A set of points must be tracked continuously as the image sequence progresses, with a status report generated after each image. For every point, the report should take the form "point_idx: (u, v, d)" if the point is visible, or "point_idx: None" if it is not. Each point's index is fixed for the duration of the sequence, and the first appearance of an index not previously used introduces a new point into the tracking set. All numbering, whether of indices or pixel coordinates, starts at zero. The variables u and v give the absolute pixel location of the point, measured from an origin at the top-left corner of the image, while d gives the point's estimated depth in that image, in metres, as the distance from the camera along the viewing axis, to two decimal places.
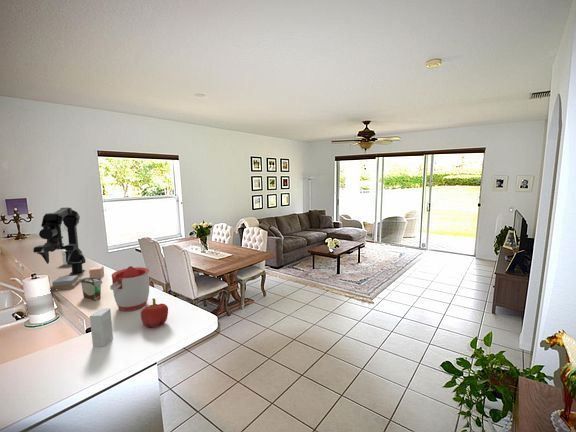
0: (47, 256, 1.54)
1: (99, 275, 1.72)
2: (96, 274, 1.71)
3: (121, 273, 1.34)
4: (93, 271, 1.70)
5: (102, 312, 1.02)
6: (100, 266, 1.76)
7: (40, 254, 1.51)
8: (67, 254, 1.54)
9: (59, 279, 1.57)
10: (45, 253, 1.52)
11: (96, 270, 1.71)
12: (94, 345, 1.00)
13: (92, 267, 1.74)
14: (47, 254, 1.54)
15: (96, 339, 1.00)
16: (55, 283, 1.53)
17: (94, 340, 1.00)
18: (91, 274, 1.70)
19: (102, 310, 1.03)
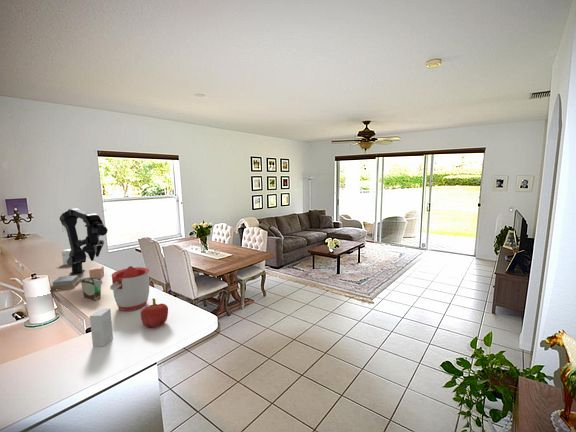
0: (97, 250, 1.76)
1: (99, 275, 1.72)
2: (96, 274, 1.71)
3: (121, 273, 1.34)
4: (93, 271, 1.70)
5: (102, 312, 1.02)
6: (100, 266, 1.76)
7: None
8: None
9: (59, 279, 1.57)
10: (95, 247, 1.76)
11: (96, 270, 1.71)
12: (94, 345, 1.00)
13: (92, 267, 1.74)
14: (98, 249, 1.77)
15: (96, 339, 1.00)
16: (55, 283, 1.53)
17: (94, 340, 1.00)
18: (91, 274, 1.70)
19: (102, 310, 1.03)
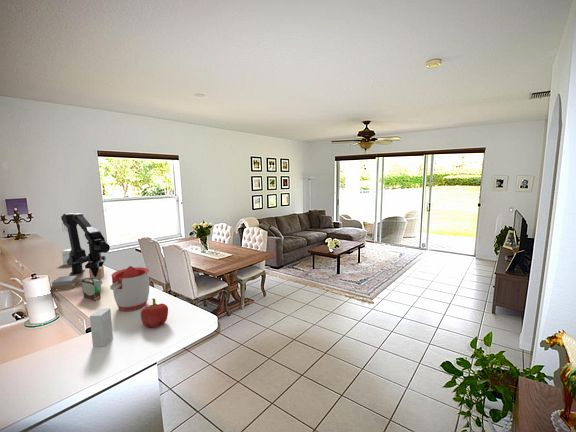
0: None
1: (99, 275, 1.72)
2: None
3: (121, 273, 1.34)
4: None
5: (102, 312, 1.02)
6: (100, 266, 1.76)
7: None
8: None
9: (59, 279, 1.57)
10: None
11: None
12: (94, 345, 1.00)
13: None
14: (99, 265, 1.77)
15: (96, 339, 1.00)
16: (55, 283, 1.53)
17: (94, 340, 1.00)
18: (91, 274, 1.70)
19: (102, 310, 1.03)
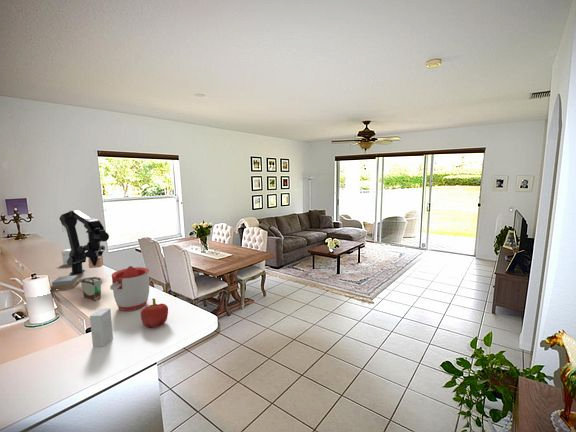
0: (98, 256, 1.76)
1: (98, 264, 1.71)
2: (96, 263, 1.70)
3: (121, 273, 1.34)
4: None
5: (102, 312, 1.02)
6: None
7: None
8: None
9: (59, 279, 1.57)
10: None
11: None
12: (94, 345, 1.00)
13: None
14: (99, 255, 1.76)
15: (96, 339, 1.00)
16: (55, 283, 1.53)
17: (94, 340, 1.00)
18: (90, 263, 1.69)
19: (102, 310, 1.03)
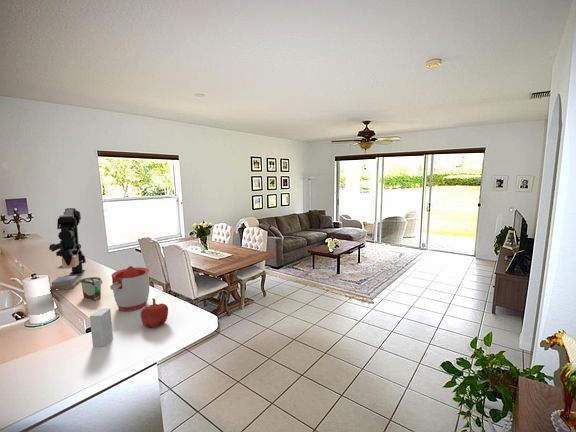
0: None
1: (73, 264, 1.58)
2: (70, 263, 1.58)
3: (121, 273, 1.34)
4: None
5: (102, 312, 1.02)
6: None
7: None
8: None
9: (58, 279, 1.57)
10: None
11: None
12: (94, 345, 1.00)
13: None
14: (74, 254, 1.63)
15: (96, 339, 1.00)
16: (54, 283, 1.53)
17: (94, 340, 1.00)
18: (64, 262, 1.57)
19: (102, 310, 1.03)
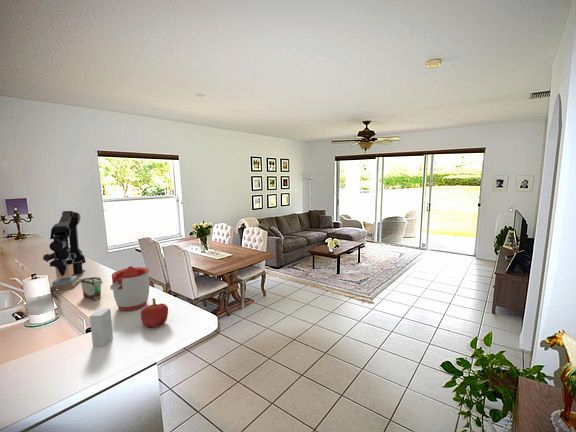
0: None
1: (67, 274, 1.56)
2: None
3: (121, 273, 1.34)
4: None
5: (102, 312, 1.02)
6: (69, 264, 1.61)
7: None
8: None
9: (58, 279, 1.57)
10: (65, 262, 1.61)
11: None
12: (94, 345, 1.00)
13: None
14: (68, 263, 1.61)
15: (96, 339, 1.00)
16: (55, 283, 1.53)
17: (94, 340, 1.00)
18: (58, 273, 1.54)
19: (102, 310, 1.03)
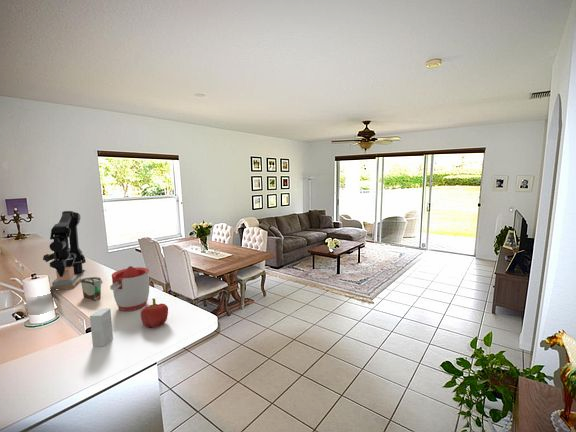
0: (68, 265, 1.62)
1: (68, 276, 1.56)
2: (64, 275, 1.56)
3: (121, 273, 1.34)
4: None
5: (102, 312, 1.02)
6: None
7: None
8: None
9: None
10: (66, 261, 1.62)
11: (64, 271, 1.55)
12: (94, 345, 1.00)
13: None
14: (69, 263, 1.62)
15: (96, 339, 1.00)
16: (55, 283, 1.53)
17: (94, 340, 1.00)
18: (58, 275, 1.55)
19: (102, 310, 1.03)
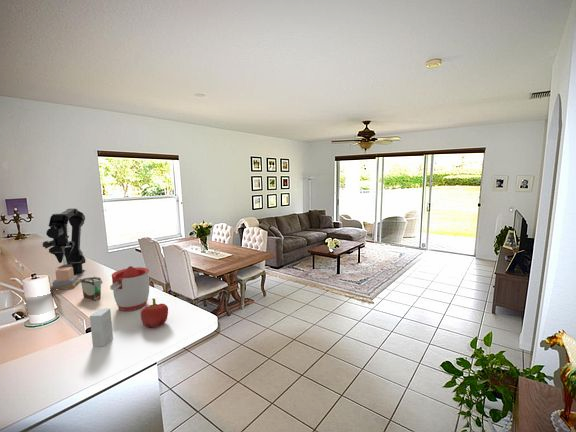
0: (67, 252, 1.68)
1: (67, 277, 1.56)
2: (64, 276, 1.55)
3: (121, 273, 1.34)
4: (60, 272, 1.55)
5: (102, 312, 1.02)
6: (69, 267, 1.60)
7: None
8: None
9: None
10: (65, 249, 1.68)
11: (63, 271, 1.55)
12: (94, 345, 1.00)
13: (60, 268, 1.58)
14: (68, 250, 1.68)
15: (96, 339, 1.00)
16: (55, 283, 1.53)
17: (94, 340, 1.00)
18: (58, 276, 1.54)
19: (102, 310, 1.03)
